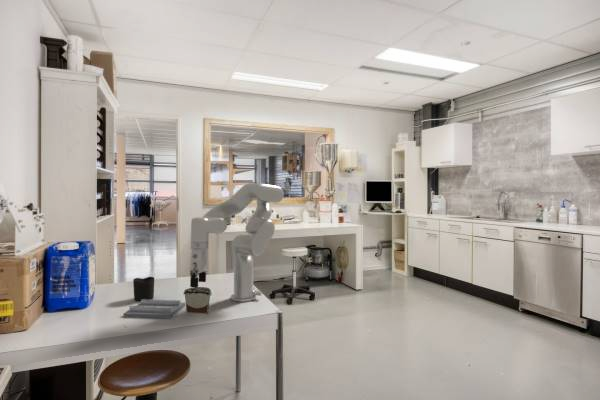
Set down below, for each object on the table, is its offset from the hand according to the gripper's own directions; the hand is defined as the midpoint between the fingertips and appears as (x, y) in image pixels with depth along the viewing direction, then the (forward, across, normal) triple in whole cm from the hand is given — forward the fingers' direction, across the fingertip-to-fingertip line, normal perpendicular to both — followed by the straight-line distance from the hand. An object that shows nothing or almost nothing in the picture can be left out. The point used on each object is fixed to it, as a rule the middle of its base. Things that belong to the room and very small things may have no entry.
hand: (198, 284), depth 151 cm
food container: (+12, +1, -1) cm, 12 cm away
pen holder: (+12, +15, +32) cm, 38 cm away
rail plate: (+12, -1, +18) cm, 22 cm away
